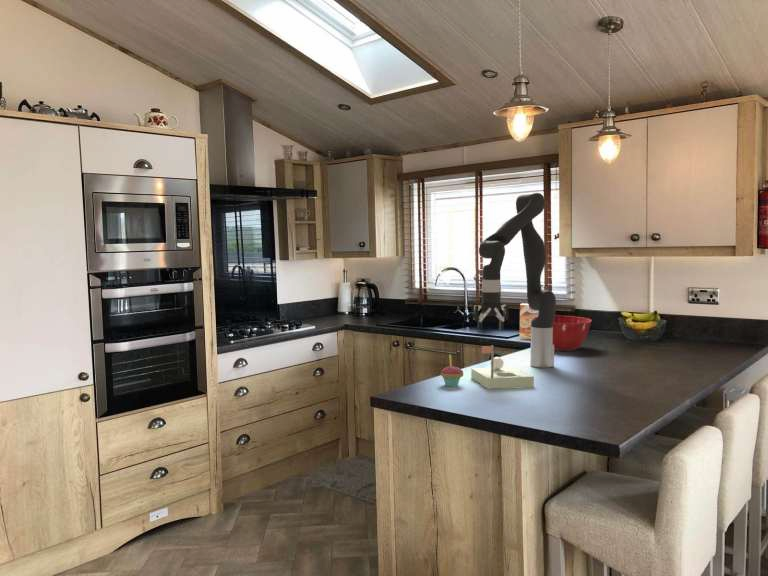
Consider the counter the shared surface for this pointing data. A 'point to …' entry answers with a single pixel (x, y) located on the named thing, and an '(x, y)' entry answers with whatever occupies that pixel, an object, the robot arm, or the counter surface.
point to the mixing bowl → (569, 332)
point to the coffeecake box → (526, 320)
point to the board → (501, 375)
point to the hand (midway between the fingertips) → (490, 330)
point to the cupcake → (451, 374)
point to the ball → (497, 363)
